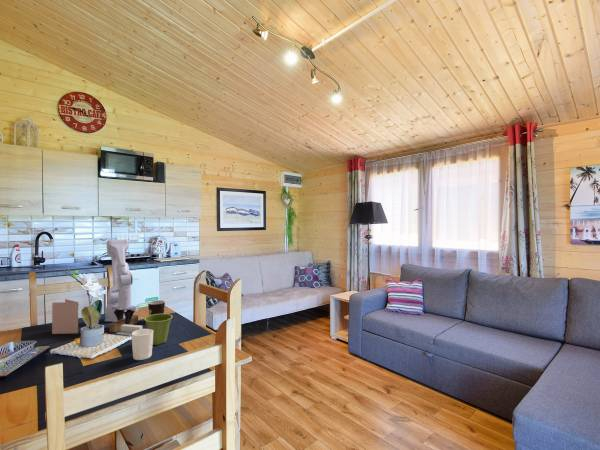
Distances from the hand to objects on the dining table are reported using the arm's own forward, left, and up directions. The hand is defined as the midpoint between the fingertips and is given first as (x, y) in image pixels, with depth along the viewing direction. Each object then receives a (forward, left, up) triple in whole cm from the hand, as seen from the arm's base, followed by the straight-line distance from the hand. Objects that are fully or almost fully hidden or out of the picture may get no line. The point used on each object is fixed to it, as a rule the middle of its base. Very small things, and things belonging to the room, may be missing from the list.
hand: (124, 324), depth 164 cm
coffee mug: (+10, +12, -2) cm, 16 cm away
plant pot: (+29, -14, -2) cm, 32 cm away
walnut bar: (0, 0, -2) cm, 2 cm away
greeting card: (-21, -14, -2) cm, 25 cm away
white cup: (+32, -29, -2) cm, 44 cm away
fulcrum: (+9, -6, -1) cm, 11 cm away
